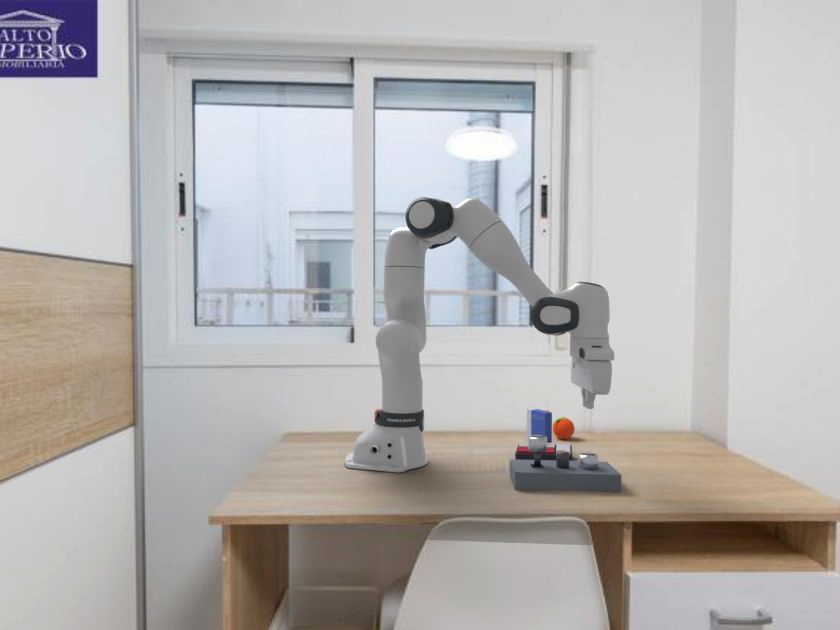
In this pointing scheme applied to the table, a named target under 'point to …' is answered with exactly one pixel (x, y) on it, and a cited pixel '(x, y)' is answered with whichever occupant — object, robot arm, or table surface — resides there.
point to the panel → (563, 477)
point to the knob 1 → (537, 447)
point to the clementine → (563, 428)
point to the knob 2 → (588, 461)
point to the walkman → (539, 423)
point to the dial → (562, 459)
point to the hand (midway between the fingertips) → (588, 407)
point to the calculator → (550, 454)
